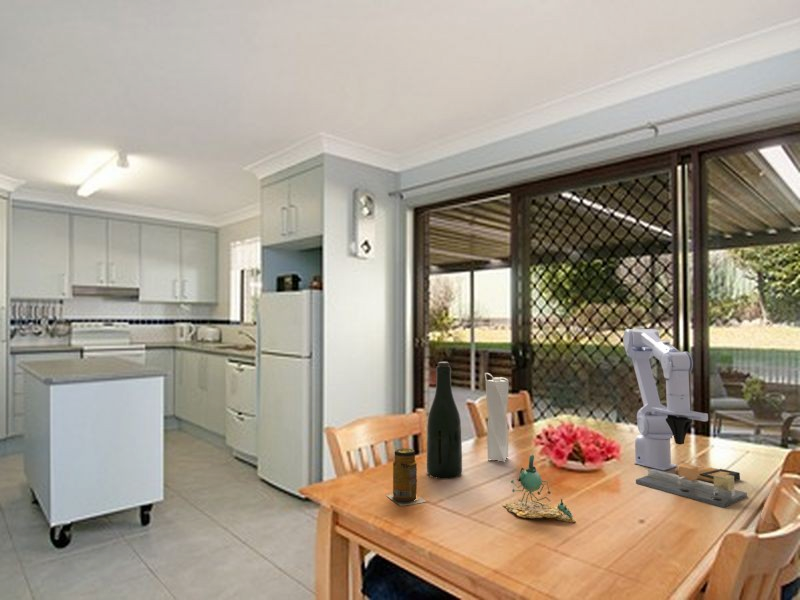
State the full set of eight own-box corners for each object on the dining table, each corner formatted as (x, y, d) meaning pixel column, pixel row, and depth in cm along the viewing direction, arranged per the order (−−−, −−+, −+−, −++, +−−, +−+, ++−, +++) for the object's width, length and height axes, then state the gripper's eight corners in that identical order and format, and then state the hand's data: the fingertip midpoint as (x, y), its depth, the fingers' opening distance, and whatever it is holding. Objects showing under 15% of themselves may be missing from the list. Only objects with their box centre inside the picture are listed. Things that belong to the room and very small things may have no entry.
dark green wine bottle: (450, 466, 152) (449, 359, 153) (469, 476, 143) (468, 362, 144) (420, 471, 147) (419, 361, 149) (437, 481, 138) (437, 363, 139)
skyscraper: (482, 460, 158) (481, 373, 160) (487, 455, 165) (486, 371, 166) (507, 463, 155) (506, 374, 156) (511, 457, 162) (510, 372, 163)
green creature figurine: (561, 533, 105) (552, 462, 106) (492, 518, 118) (485, 455, 119) (582, 520, 111) (573, 453, 113) (515, 507, 124) (508, 447, 126)
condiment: (411, 491, 130) (410, 446, 131) (426, 502, 123) (426, 453, 123) (385, 496, 127) (385, 449, 128) (400, 507, 119) (400, 457, 120)
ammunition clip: (717, 478, 134) (675, 468, 144) (718, 485, 133) (675, 474, 144) (739, 472, 138) (697, 463, 149) (740, 479, 138) (697, 469, 149)
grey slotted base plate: (635, 483, 136) (635, 461, 136) (660, 474, 143) (659, 454, 144) (724, 507, 118) (723, 483, 118) (746, 496, 125) (746, 473, 126)
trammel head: (672, 483, 129) (672, 468, 130) (685, 479, 133) (685, 463, 133) (685, 487, 127) (685, 471, 127) (698, 482, 131) (697, 466, 131)
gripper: (645, 393, 142) (646, 440, 142) (698, 398, 131) (700, 450, 130) (657, 391, 146) (659, 437, 146) (710, 396, 134) (713, 447, 134)
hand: (679, 443), depth 138 cm, fingers closed
